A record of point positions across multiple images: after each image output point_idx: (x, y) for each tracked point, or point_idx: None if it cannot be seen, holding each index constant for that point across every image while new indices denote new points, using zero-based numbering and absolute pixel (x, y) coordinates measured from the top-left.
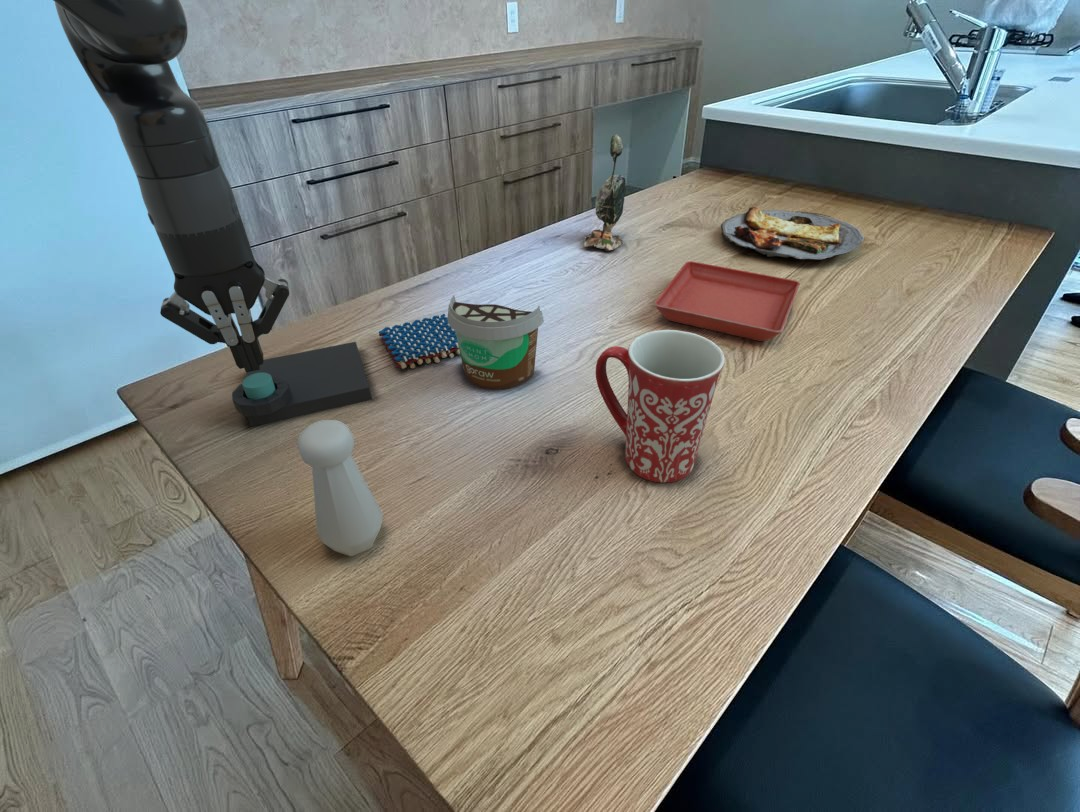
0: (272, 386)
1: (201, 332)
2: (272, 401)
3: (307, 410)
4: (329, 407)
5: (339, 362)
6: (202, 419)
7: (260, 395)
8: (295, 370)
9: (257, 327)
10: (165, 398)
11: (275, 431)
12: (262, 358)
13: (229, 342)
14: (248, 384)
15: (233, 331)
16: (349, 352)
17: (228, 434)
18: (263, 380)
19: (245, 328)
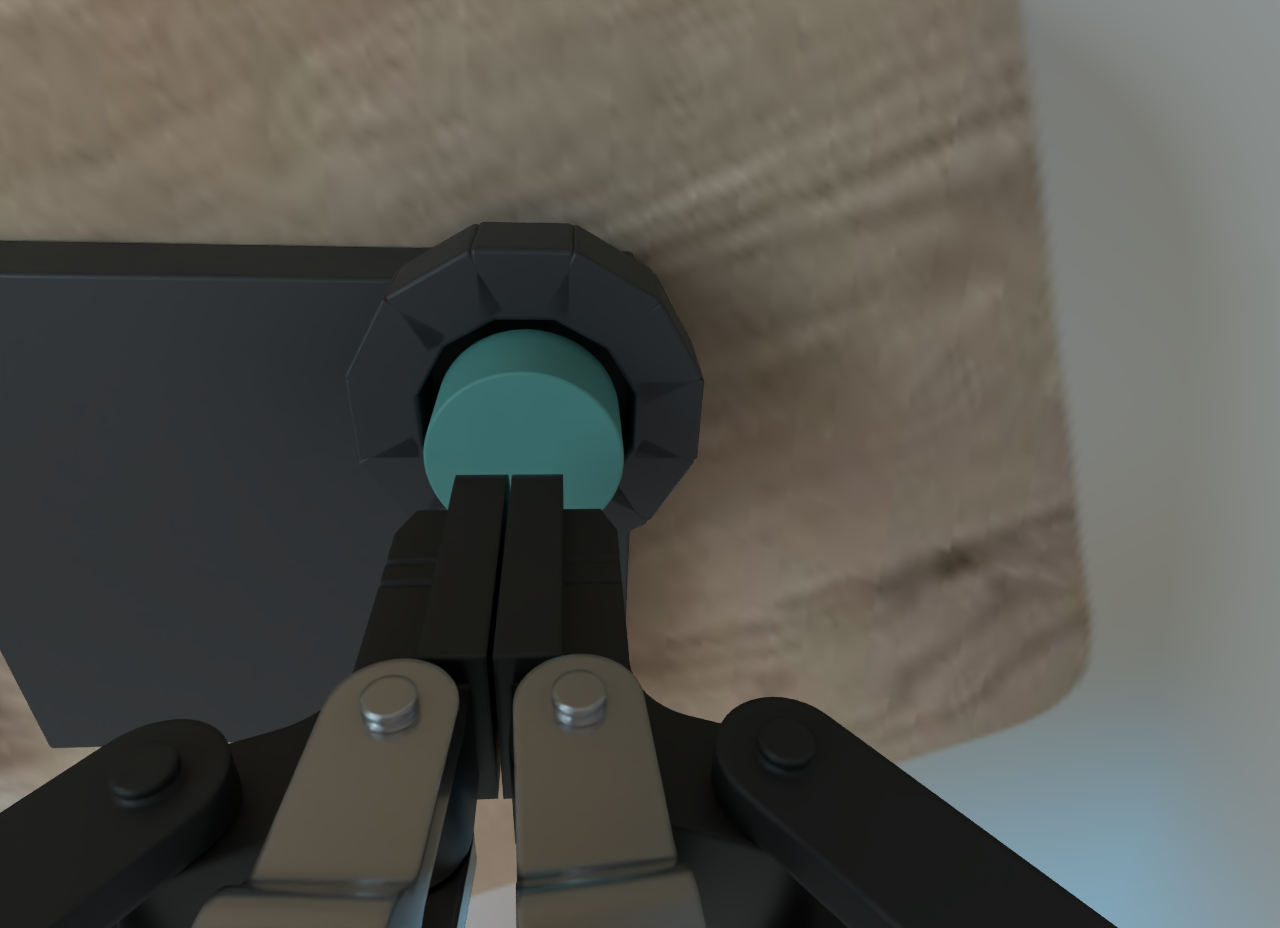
0: (436, 402)
1: (902, 853)
2: (445, 261)
3: (294, 253)
4: (162, 247)
5: (106, 599)
6: (859, 422)
7: (520, 340)
8: (365, 603)
9: (244, 826)
10: (975, 629)
11: (497, 146)
12: (395, 544)
13: (608, 689)
14: (580, 430)
15: (521, 807)
16: (63, 669)
17: (755, 234)
18: (476, 440)
19: (362, 825)
